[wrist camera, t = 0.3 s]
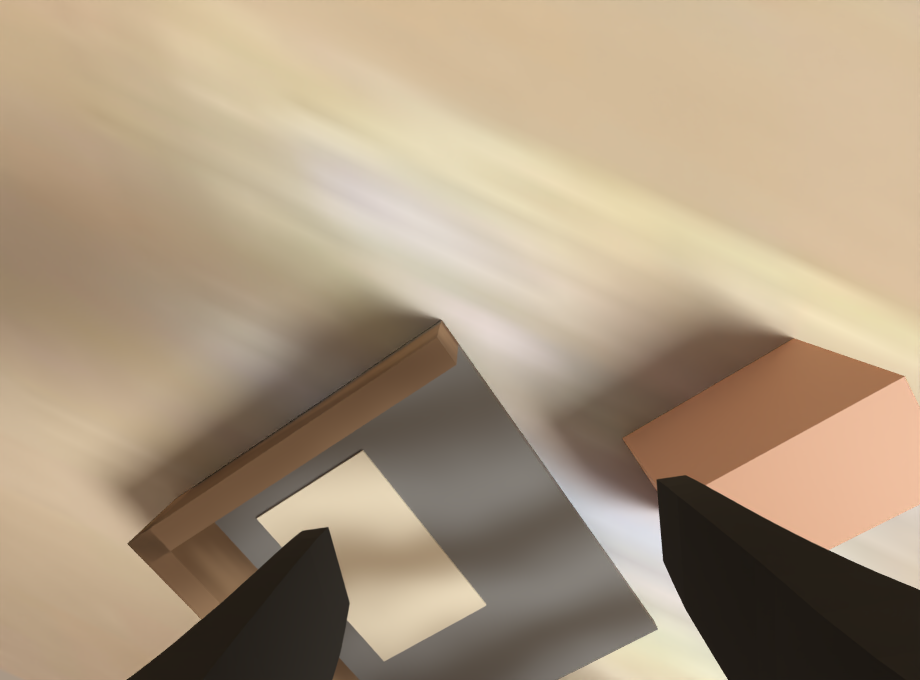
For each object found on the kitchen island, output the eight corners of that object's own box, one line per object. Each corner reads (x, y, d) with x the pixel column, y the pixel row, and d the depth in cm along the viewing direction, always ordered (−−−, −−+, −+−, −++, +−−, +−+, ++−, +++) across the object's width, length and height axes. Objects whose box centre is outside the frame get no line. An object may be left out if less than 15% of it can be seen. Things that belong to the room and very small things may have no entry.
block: (836, 421, 20) (957, 485, 15) (670, 511, 21) (731, 598, 16) (791, 337, 19) (905, 376, 14) (621, 436, 20) (670, 504, 15)
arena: (653, 620, 22) (681, 680, 19) (404, 746, 24) (396, 817, 21) (441, 320, 19) (436, 337, 16) (174, 499, 21) (127, 543, 18)
